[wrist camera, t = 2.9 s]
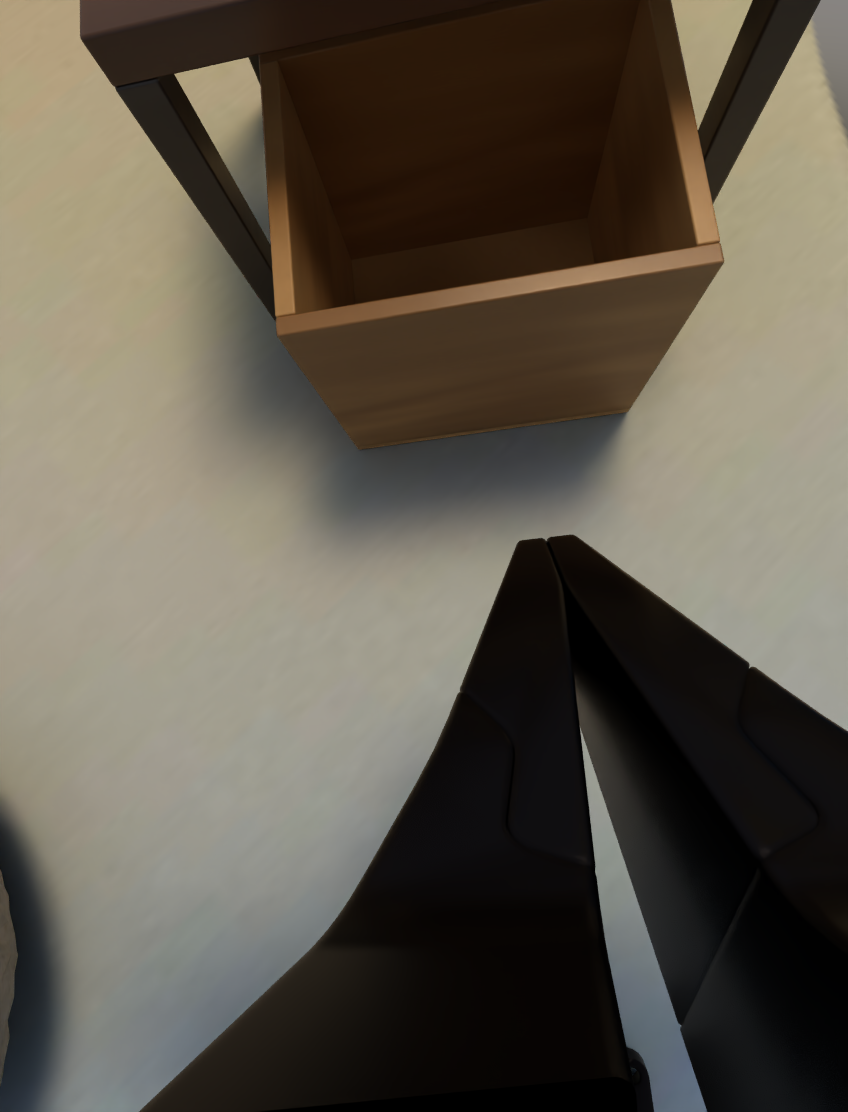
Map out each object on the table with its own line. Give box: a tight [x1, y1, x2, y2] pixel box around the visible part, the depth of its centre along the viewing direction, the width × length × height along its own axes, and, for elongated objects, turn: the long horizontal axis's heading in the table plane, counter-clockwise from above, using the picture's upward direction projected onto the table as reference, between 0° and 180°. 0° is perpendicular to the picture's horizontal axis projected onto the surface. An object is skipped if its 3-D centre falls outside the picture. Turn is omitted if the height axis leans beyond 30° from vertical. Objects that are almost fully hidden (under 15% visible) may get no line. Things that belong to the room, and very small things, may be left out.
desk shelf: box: [80, 0, 820, 322], centre depth 16 cm, size 12×15×11 cm
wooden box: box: [259, 0, 724, 450], centre depth 16 cm, size 8×10×8 cm
